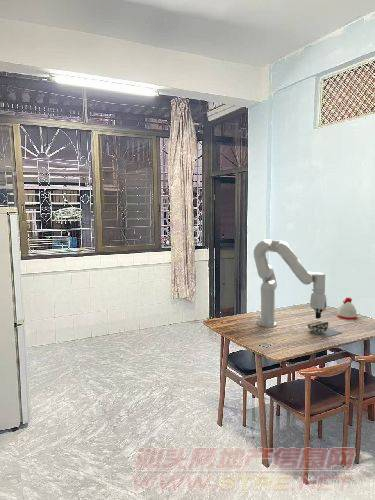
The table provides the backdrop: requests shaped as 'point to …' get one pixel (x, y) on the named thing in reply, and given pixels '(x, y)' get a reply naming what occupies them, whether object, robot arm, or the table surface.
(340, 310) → the white bobble hat
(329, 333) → the mat
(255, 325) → the table surface
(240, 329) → the table surface
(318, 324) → the food container
